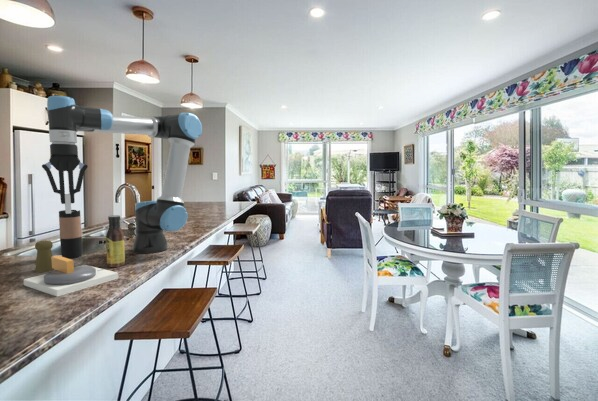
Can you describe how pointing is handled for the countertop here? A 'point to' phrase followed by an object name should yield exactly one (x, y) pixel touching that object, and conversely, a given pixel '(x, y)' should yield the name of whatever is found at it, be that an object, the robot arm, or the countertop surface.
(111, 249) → the sauce bottle
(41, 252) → the olive pepper mill
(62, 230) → the travel mug
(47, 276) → the dial
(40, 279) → the dial base
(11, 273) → the countertop surface
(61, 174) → the robot arm
